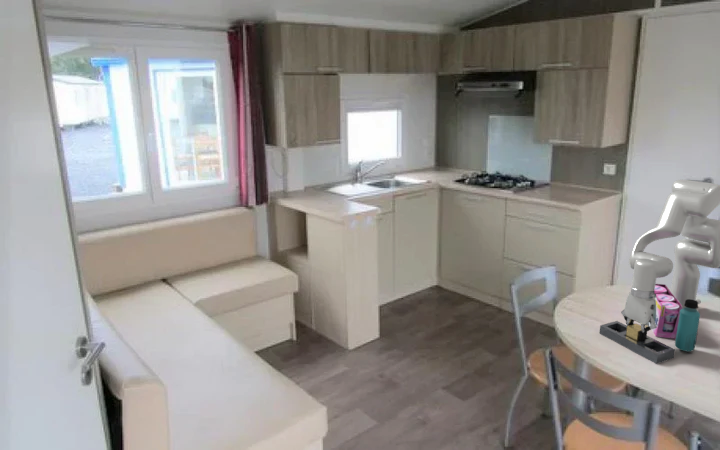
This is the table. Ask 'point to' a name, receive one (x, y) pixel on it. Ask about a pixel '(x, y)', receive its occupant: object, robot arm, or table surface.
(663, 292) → the gum box
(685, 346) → the beverage bottle
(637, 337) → the tan wooden cube
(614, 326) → the frame with square openings
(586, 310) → the table surface
